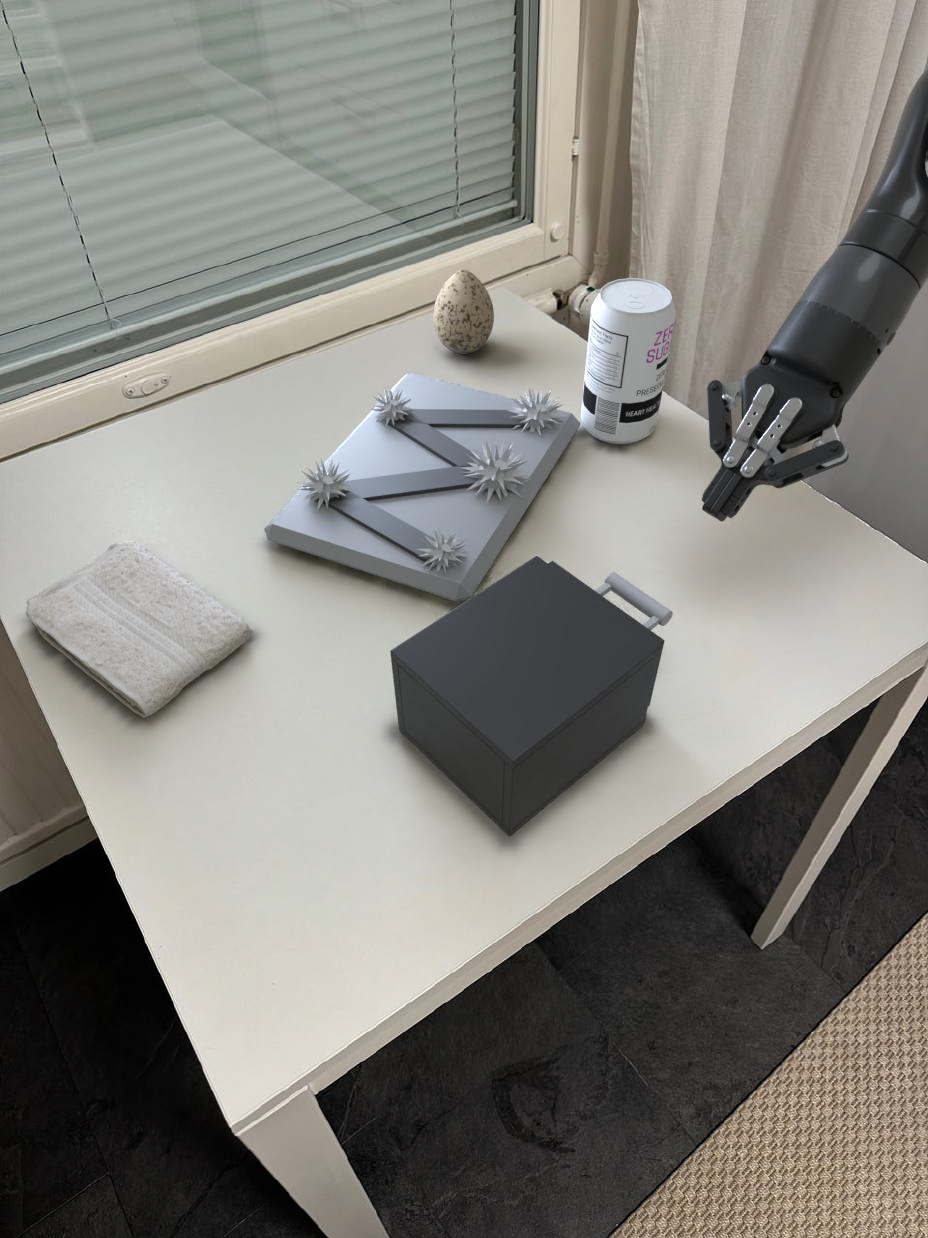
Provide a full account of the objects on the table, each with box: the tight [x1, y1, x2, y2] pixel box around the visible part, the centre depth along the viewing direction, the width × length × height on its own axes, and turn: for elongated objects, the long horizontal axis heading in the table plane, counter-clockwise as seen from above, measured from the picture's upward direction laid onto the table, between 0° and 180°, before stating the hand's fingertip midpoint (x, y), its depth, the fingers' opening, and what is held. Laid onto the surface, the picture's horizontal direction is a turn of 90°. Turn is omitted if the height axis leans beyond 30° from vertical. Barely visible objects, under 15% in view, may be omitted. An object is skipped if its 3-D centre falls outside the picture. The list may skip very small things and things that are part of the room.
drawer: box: [547, 560, 674, 708], centre depth 68 cm, size 18×11×8 cm, turn 132°
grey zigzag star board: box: [263, 372, 581, 603], centre depth 88 cm, size 30×22×7 cm
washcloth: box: [25, 540, 254, 718], centre depth 76 cm, size 12×18×3 cm, turn 52°
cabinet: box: [389, 555, 662, 837], centre depth 66 cm, size 15×13×10 cm
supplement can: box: [580, 277, 677, 445], centre depth 92 cm, size 8×8×15 cm
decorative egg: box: [432, 269, 495, 355], centre depth 104 cm, size 7×7×10 cm
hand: (712, 515), depth 72 cm, fingers closed
